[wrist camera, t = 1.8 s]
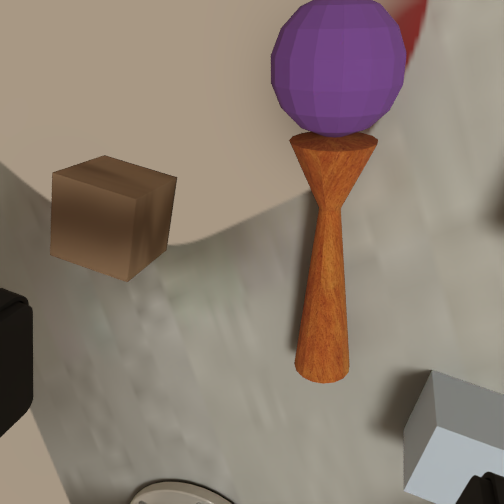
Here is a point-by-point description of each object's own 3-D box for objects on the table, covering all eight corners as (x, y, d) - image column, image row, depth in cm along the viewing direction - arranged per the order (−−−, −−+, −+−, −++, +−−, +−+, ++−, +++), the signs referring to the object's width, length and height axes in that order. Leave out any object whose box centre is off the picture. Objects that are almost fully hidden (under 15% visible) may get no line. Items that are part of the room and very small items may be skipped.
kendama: (256, 380, 28) (245, -6, 19) (295, 326, 33) (301, -4, 24) (355, 413, 26) (397, -12, 17) (382, 349, 30) (426, -9, 21)
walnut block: (166, 249, 31) (127, 282, 27) (99, 227, 32) (50, 254, 28) (177, 177, 29) (136, 199, 25) (104, 155, 30) (52, 172, 25)
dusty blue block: (482, 457, 30) (495, 527, 26) (403, 428, 31) (403, 491, 27) (517, 398, 28) (538, 463, 24) (431, 369, 29) (436, 425, 24)
